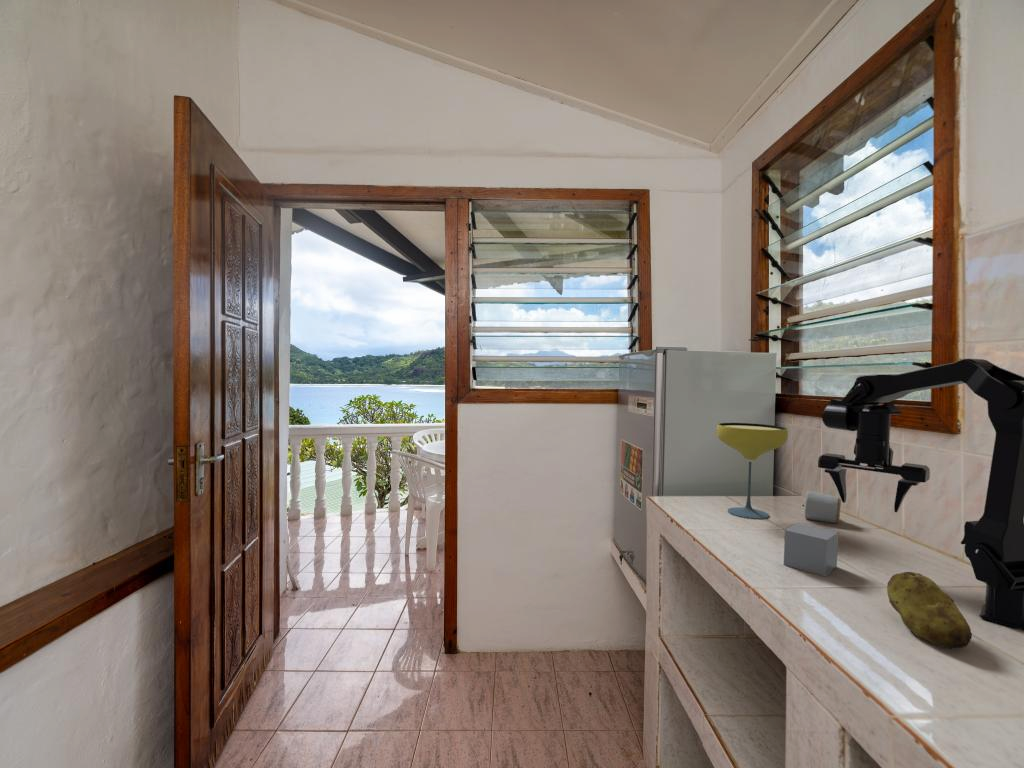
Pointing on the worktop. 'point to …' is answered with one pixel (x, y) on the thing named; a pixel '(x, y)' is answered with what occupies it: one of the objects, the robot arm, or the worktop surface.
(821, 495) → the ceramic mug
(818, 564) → the plain gray cube
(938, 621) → the potato
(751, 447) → the cocktail glass
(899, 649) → the worktop surface
